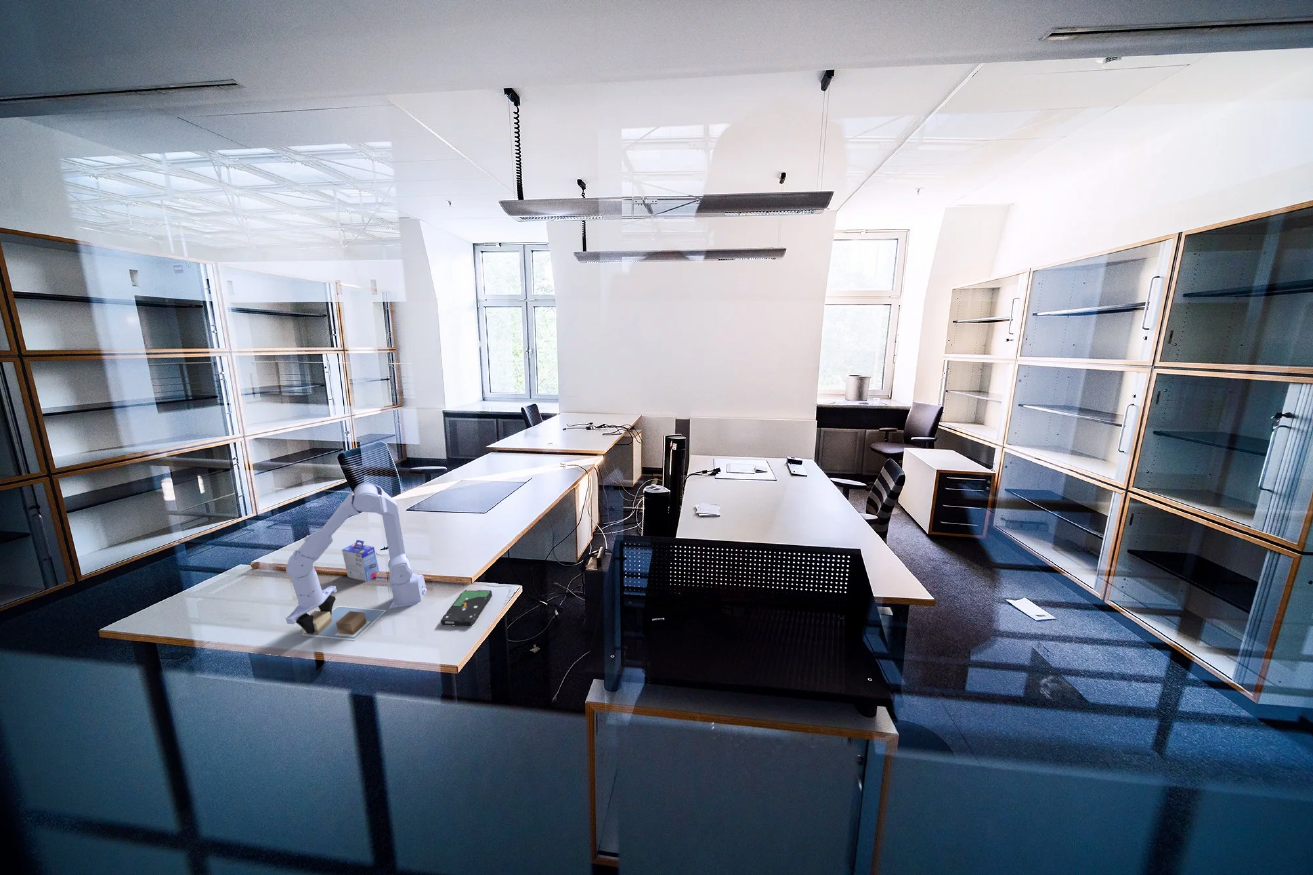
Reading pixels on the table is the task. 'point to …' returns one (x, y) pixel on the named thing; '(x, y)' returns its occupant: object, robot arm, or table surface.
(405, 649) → the table surface
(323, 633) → the mat
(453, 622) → the disk drive
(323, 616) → the maple block
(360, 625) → the walnut block
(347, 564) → the ink cartridge box
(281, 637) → the table surface
